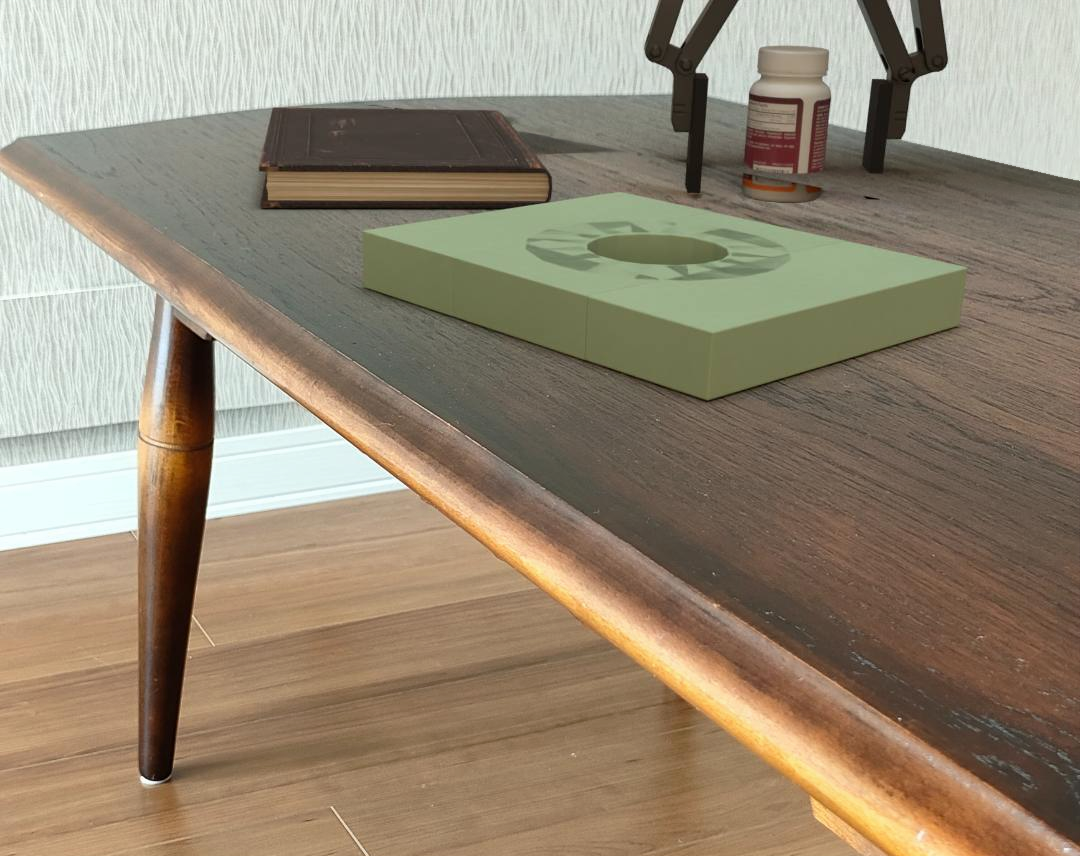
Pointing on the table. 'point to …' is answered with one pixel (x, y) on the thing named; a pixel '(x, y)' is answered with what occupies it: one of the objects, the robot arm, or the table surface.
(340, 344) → the table surface
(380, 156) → the hardcover book
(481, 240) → the socket pad
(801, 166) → the pill bottle
